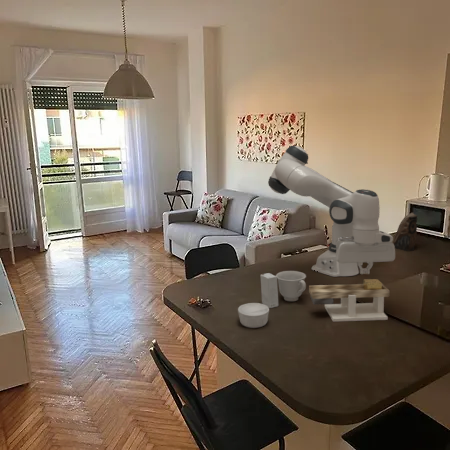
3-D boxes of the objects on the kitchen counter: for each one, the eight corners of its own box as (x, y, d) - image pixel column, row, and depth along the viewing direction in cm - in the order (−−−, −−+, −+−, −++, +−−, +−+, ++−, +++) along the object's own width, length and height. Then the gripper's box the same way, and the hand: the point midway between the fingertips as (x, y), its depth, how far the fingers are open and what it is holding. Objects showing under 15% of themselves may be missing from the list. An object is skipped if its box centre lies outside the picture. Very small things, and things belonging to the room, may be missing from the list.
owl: (410, 245, 240) (411, 211, 236) (424, 250, 228) (426, 214, 224) (390, 247, 238) (392, 213, 234) (404, 252, 226) (406, 216, 222)
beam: (312, 305, 145) (312, 292, 144) (308, 297, 153) (308, 285, 152) (389, 303, 145) (390, 290, 144) (381, 295, 153) (381, 283, 152)
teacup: (292, 309, 156) (292, 284, 154) (270, 297, 169) (269, 274, 167) (317, 302, 161) (317, 278, 159) (294, 291, 174) (294, 268, 172)
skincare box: (278, 306, 159) (278, 276, 157) (269, 308, 157) (268, 278, 155) (270, 301, 165) (269, 272, 162) (260, 303, 163) (260, 274, 160)
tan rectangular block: (367, 292, 146) (367, 283, 145) (363, 288, 150) (363, 279, 149) (381, 292, 146) (381, 282, 145) (377, 288, 150) (377, 279, 149)
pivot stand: (332, 321, 144) (333, 297, 142) (324, 307, 156) (324, 285, 155) (387, 319, 143) (388, 295, 142) (374, 305, 156) (375, 283, 154)
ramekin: (260, 332, 138) (260, 317, 137) (232, 325, 144) (231, 311, 143) (274, 319, 147) (274, 305, 146) (247, 314, 153) (247, 300, 152)
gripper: (338, 239, 141) (337, 277, 144) (397, 236, 141) (396, 275, 144) (333, 235, 147) (333, 272, 150) (390, 232, 147) (389, 269, 150)
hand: (364, 273), depth 147 cm, fingers closed
